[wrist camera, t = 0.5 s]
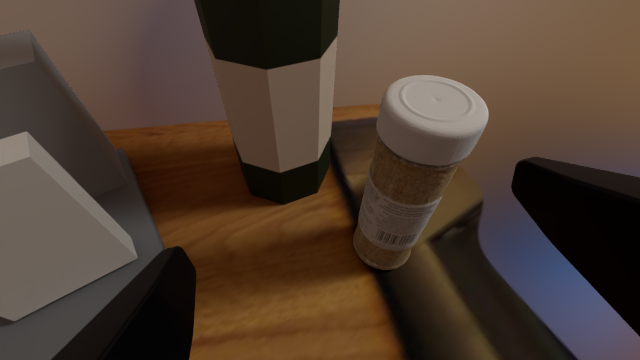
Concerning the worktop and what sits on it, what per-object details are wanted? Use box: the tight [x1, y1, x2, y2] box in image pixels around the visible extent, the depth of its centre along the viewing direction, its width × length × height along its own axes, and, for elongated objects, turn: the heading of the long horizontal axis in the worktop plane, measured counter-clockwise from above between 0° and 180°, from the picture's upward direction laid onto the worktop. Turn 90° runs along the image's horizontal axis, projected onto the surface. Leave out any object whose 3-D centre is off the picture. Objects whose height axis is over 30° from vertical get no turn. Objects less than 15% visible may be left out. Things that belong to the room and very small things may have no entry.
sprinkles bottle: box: [353, 75, 488, 270], centre depth 18 cm, size 5×5×13 cm
